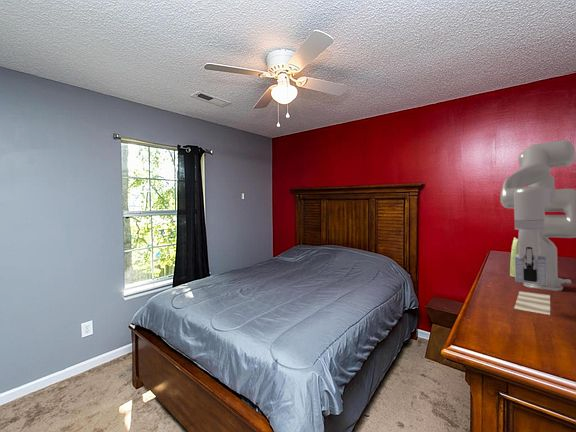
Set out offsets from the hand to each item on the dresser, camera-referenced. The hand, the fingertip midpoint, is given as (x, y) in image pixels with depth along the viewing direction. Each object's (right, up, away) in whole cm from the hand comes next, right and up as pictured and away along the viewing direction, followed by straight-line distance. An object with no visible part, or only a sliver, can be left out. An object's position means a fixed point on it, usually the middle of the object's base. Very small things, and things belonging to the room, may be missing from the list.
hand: (530, 278), depth 91 cm
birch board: (+8, -12, +8) cm, 17 cm away
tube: (+33, -10, +46) cm, 57 cm away
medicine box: (0, -1, 0) cm, 1 cm away
